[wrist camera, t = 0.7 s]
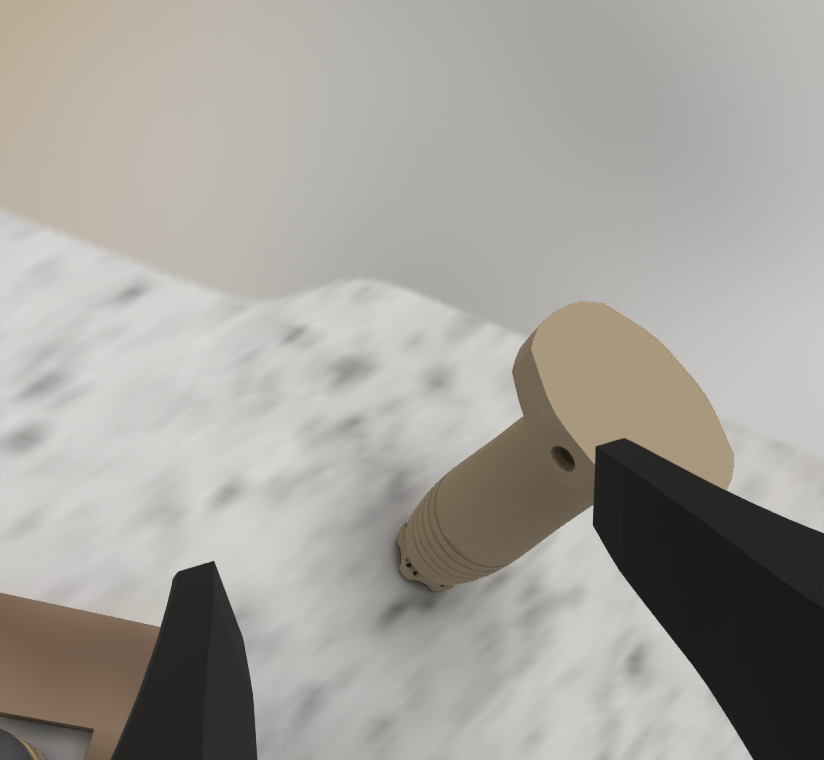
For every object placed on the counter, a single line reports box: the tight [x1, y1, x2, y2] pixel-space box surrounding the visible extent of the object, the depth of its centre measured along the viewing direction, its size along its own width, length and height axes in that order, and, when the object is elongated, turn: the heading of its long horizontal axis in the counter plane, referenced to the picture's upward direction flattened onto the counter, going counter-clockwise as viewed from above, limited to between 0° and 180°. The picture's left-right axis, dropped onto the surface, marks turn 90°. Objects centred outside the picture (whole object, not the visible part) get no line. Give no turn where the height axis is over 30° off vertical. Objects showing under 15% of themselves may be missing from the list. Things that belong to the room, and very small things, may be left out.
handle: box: [396, 302, 734, 591], centre depth 25 cm, size 5×6×15 cm
